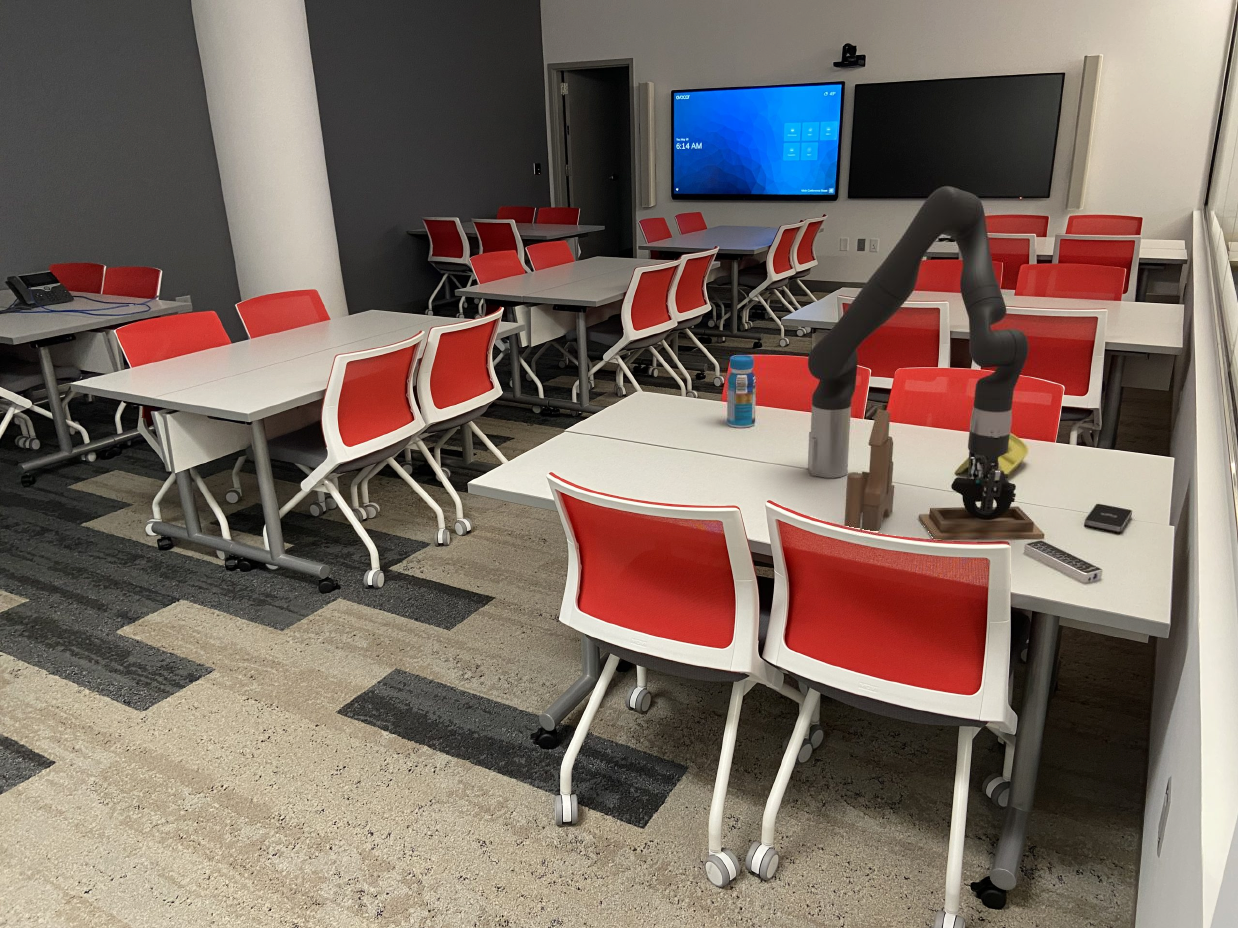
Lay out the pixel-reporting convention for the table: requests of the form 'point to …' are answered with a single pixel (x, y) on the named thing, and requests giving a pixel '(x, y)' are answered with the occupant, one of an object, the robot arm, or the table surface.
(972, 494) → the controller
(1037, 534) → the cradle
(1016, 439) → the plastic component
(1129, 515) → the external hard drive
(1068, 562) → the multiport hub
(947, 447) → the table surface
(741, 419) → the beverage bottle
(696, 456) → the table surface
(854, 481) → the wooden toy
